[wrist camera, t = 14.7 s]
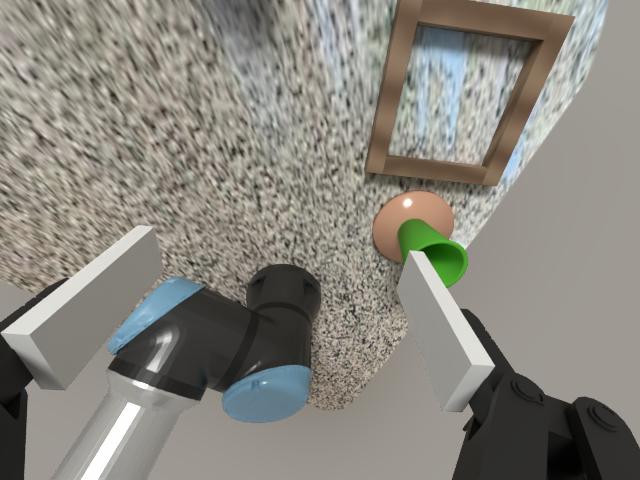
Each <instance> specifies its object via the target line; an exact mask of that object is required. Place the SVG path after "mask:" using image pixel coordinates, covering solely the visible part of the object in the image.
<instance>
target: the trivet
mask: <svg viewBox="0 0 640 480" xmlns="http://www.w3.org/2000/svg"><path fill="white" fill-rule="evenodd" d="M414 218H415V219H421V220H423V221H424V222H426V223H427V224H428V225H430V226H431V227H432V228H434V229H435V230H436V231H438V232H439V233H440V234H442V235H443V236H444V237H446V238H447V239H448V240H449V238H450V236H451V234H452V231H453V228H454V215H453V212H452V210H451V208H450V206H449V205H448V203H447V202H446V201H445V200H443V199H442V198H441V197H440V196H438V195H437V194H435V193H432V192H429V191H424V190H412V191H407V192H404V193H401V194H399V195H397V196H395V197H393V198H392V199H390V200H389V201H388V202H386V203H385V204H384V205H383V206H382V208H381V209H380V210H379V212H378V213H377V215H376V217H375V220H374V223H373V229H372V233H373V238H374V241H375V244H376V246H377V248H378V250H379V251H380V252H381V253H382V254H383V255H384V256H385V257H387V258H389V259H391V260H393V261H396V262H402V263H403V261H402V255H401V250H400V245H399V239H398V230H399V228H400V226H401V225H402V223H404V222H405V221H407V220H409V219H414Z"/></svg>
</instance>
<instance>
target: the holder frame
mask: <svg viewBox="0 0 640 480" xmlns="http://www.w3.org/2000/svg"><path fill="white" fill-rule="evenodd" d="M574 19H575V16H568V15H562V14H555V13H549V12H542V11H536V10H529V9H523V8H516V7H510V6H503V5H497V4H490V3H484V2H477V1H470V0H397V5H396V10H395V15H394V20H393V25H392V30H391V35H390V40H389V45H388V50H387V56H386V61H385V66H384V71H383V76H382V81H381V86H380V91H379V96H378V102H377V107H376V112H375V117H374V122H373V127H372V132H371V137H370V142H369V147H368V153H367V158H366V163H365V168H364V169H365V171H366V172H369V173H378V174H388V175H397V176H406V177H415V178H424V179H433V180H442V181H451V182H460V183H469V184H479V185H488V186H497V185H498V183H499V180H500V178H501V176H502V174H503V172H504V170H505V167H506V165H507V163H508V161H509V159H510V157H511V155H512V152H513V150H514V148H515V146H516V144H517V142H518V139H519V137H520V135H521V133H522V131H523V129H524V127H525V124H526V122H527V120H528V118H529V116H530V114H531V111H532V109H533V107H534V105H535V103H536V101H537V99H538V96H539V94H540V92H541V90H542V88H543V86H544V84H545V81H546V79H547V77H548V75H549V73H550V71H551V68H552V66H553V64H554V62H555V60H556V58H557V56H558V53H559V51H560V49H561V47H562V45H563V43H564V40H565V38H566V36H567V34H568V32H569V30H570V28H571V25H572V23H573V21H574ZM417 25H419V26H426V27H433V28H440V29H447V30H454V31H461V32H467V33H474V34H481V35H488V36H495V37H502V38H509V39H515V40H522V41H529V42H533V43H532V46H531V48H530V50H529V53H528V55H527V58H526V60H525V62H524V65H523V67H522V70H521V72H520V74H519V77H518V79H517V82H516V84H515V86H514V89H513V91H512V94H511V96H510V98H509V101H508V103H507V106H506V108H505V110H504V113H503V115H502V118H501V120H500V122H499V125H498V127H497V130H496V132H495V134H494V137H493V139H492V142H491V144H490V146H489V149H488V151H487V154H486V156H485V158H484V161H483V163H482V166H480V165H471V164H462V163H454V162H445V161H436V160H427V159H419V158H410V157H401V156H393V155H387V151H388V147H389V143H390V138H391V134H392V130H393V126H394V121H395V117H396V113H397V108H398V104H399V100H400V95H401V91H402V87H403V83H404V78H405V74H406V70H407V65H408V61H409V57H410V52H411V48H412V44H413V40H414V35H415V31H416V27H417Z"/></svg>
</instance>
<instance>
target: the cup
mask: <svg viewBox="0 0 640 480" xmlns="http://www.w3.org/2000/svg"><path fill="white" fill-rule="evenodd" d="M398 239H399V245H400V250H401V255H402V261H403V268H404V265H405V262H406V259H407V256H408V253H409V250H410V251H421V252H424V253H425V255H426V257H427V258H428V260H429V261H430V263H431V265H432V266H433V268H434V269H435V271H436V273H437V274H438V276H439V277H440V279H441V281H442V282H443V284H444V285H445V287H446V288H448V287H450V286H452V285H453V284H454V283H456V282H457V281H458V280H459V279H460V278H461V277H462V276H463V274H464V273H465V271H466V268H467V265H468V256H467V253H466V251H465V250H464V248H463V247H462V246H461V245H459V244H458V243H456V242H453V241H450V240H448V239H447V238H446V237H444V236H443V235H442V234H440V233H439V232H438V231H436V230H435V229H434V228H432V227H431V226H430V225H428V224H427V223H426V222H424V221H423V220H421V219H415V218H414V219H409V220H407V221H405V222H404V223H402V225H401V226H400V228H399V230H398Z"/></svg>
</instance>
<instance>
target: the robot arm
mask: <svg viewBox="0 0 640 480" xmlns="http://www.w3.org/2000/svg"><path fill="white" fill-rule="evenodd" d="M163 272H164V268H163V263H162V259H161V255H160V250H159V246H158V242H157V237H156V233H155V229H154V227H151V226H140V225H138V226H137V227H135V228H134V229H133V230H132V231H130V232H129V233H128V234H126V235H125V236H124V237H123V238H121V239H120V240H119V241H117V242H116V243H115V244H114V245H112V246H111V247H110V248H108V249H107V250H106V251H105V252H103V253H102V254H101V255H99V256H98V257H97V258H96V259H94V260H93V261H92V262H91V263H89V264H88V265H87V266H85V267H84V268H83V269H82V270H80V271H79V272H78V273H76V274H75V275H74V276H73V277H71V278H65V279H63V280H60V281H58V282H56V283H54V284H52V285H50V286H48V287H47V288H46V289H44V290H43V291H42V292H40V293H39V294H38V295H36V298H32V299H31V300H30V301H28V302H27V303H26V304H25V306H22V307H20V308H19V309H18V310H16V311H15V312H14V313H12V314H11V315H10V316H8V317H7V318H6V319H4V320H3V321H2V322H0V480H24V464H25V443H26V422H27V400H28V395H27V392H26V390H25V387H26V386H27V385H28V384H29V382H30V381H31V380H32V379H34V380H35V381H36V383H37V384H38V385H39V387H40V388H41V389H49V390H66V389H67V388H68V386H69V385H70V384H71V383H72V382H73V380H74V379H75V378H76V377H77V376H78V374H79V373H80V372H81V371H82V370H83V368H84V367H85V366H86V365H87V363H88V362H89V361H90V360H91V358H92V357H93V356H94V355H95V354H96V353H97V351H98V350H99V349H100V348H101V347H102V345H103V344H104V343H105V342H106V340H107V339H108V338H109V337H110V336H111V334H112V333H113V332H114V331H115V330H116V328H117V327H118V326H119V325H120V324H121V322H122V321H123V320H124V319H125V318H126V316H127V315H128V314H129V313H130V312H131V310H132V309H133V308H134V307H135V305H136V304H137V303H138V302H139V301H140V299H141V298H142V297H143V296H144V295H145V293H146V292H147V291H148V290H149V289H150V287H151V286H152V285H153V284H154V283H155V281H156V280H157V279H158V278H159V277H160V275H161V274H162V273H163ZM396 291H397V294H398V296H399V299H400V302H401V304H402V307H403V310H404V312H405V315H406V317H407V320H408V323H409V325H410V328H411V331H412V333H413V336H414V338H415V341H416V344H417V346H418V349H419V352H420V354H421V357H422V360H423V362H424V365H425V368H426V370H427V373H428V376H429V378H430V381H431V383H432V386H433V389H434V391H435V394H436V397H437V399H438V402H439V405H440V407H441V410H442V411H448V412H463V410H464V409H465V408H466V406H467V405H468V403H469V405H470V407H471V409H472V411H473V413H474V414H473V416H472V417H471V418H470V420H469V421H468V422H467V424H466V425H465V426H464V428H463V431H466V430H467V432H466V435H465V439H464V442H463V445H462V448H461V452H460V455H459V458H458V461H457V465H456V468H455V471H454V474H453V478H452V480H640V448H639V446H638V444H637V442H636V440H635V438H634V436H633V434H632V432H631V430H630V429H629V428H628V426H627V425H626V423H625V422H624V421H623V420H622V419H621V418H620V417H619V416H618V415H617V414H616V413H615V412H614V411H613V410H611V409H610V408H609V407H607V406H606V405H604V404H602V403H601V402H598V401H597V400H595V399H592V398H588V397H579V398H577V399H576V400H575V401H574V402H573V403H572V404H570V403H567V402H564V401H562V400H558V399H556V398H553V397H550V396H547V395H545V394H544V392H543V391H542V390H541V389H540V388H539V387H538V386H537V385H536V384H535V383H534V382H532V381H531V380H530V379H528V378H527V377H524V376H522V375H520V374H518V373H515V372H514V370H513V368H512V367H511V366H510V364H509V363H508V361H507V360H506V358H505V357H504V356H503V354H502V352H501V351H500V349H499V348H498V346H497V345H496V343H495V342H494V341H493V340H492V339H491V336H490V335H489V333H488V332H487V331H486V330H485V327H484V326H483V324H482V323H481V322H480V320H479V319H478V318H477V317H476V316H475V315H474V314H473V313H471V312H470V311H469V310H468V309H459V308H458V306H457V304H456V303H455V301H454V300H453V298H452V296H451V295H450V293H449V292H448V290H447V288H446V287H445V285H444V284H443V282H442V281H441V279H440V277H439V276H438V274H437V273H436V271H435V269H434V268H433V266H432V265H431V263H430V261H429V260H428V258H427V257H426V255H425V253H424V252H421V251H410V250H409V253H408V256H407V259H406V262H405V265H404V268H403V271H402V274H401V277H400V280H399V283H398V286H397V289H396ZM246 302H247V307H245V306H243V305H241V304H239V303H237V302H235V301H233V300H231V299H229V298H227V297H225V296H223V295H221V294H218V293H216V292H214V291H212V290H210V289H208V288H206V286H205V285H200V284H197V283H195V282H193V281H191V280H188V279H186V278H183V277H172V278H169V279H167V280H166V281H164V282H163V283H162V284H160V285H159V286H158V287H157V288H156V289H155V290H154V291H153V292H152V293H151V294H150V295H149V296H148V297H147V298H146V299H145V300H144V301H143V302H142V303H141V304H140V305H139V306H138V307H137V308H136V309H135V311H134V312H133V313H132V314H131V315H130V316H129V317H128V319H127V320H126V321H125V322H124V323H123V325H122V326H121V327H120V329H119V330H118V331H117V333H116V334H115V335H114V336H113V337H112V339H111V340H110V342H109V344H108V345H107V349H108V351H109V352H110V354H112V355H115V354H117V355H116V357H115V358H114V360H113V361H112V363H111V364H110V366H109V367H108V369H107V370H106V374H107V379H108V383H109V390H108V393H107V395H106V396H105V397H104V399H103V401H102V402H101V404H100V405H99V406H98V408H97V410H96V411H95V413H94V414H93V416H92V417H91V419H90V420H89V422H88V423H87V425H86V426H85V428H84V429H83V431H82V432H81V434H80V435H79V437H78V438H77V440H76V441H75V443H74V444H73V446H72V447H71V449H70V450H69V452H68V453H67V455H66V456H65V458H64V459H63V461H62V462H61V464H60V465H59V467H58V468H57V470H56V471H55V473H54V474H53V476H52V477H51V479H50V480H147V478H148V476H149V474H150V472H151V470H152V469H153V467H154V465H155V463H156V461H157V459H158V456H159V455H160V453H161V451H162V449H163V447H164V445H165V443H166V441H167V439H168V437H169V435H170V433H171V431H172V429H173V427H174V425H175V423H176V421H177V419H178V417H179V415H180V414H181V413H183V412H184V411H185V410H187V409H189V408H191V407H193V406H195V405H197V404H199V402H200V400H201V398H202V396H203V394H204V392H205V390H206V388H210V389H213V390H216V391H218V392H222V393H223V398H222V402H223V409H224V411H225V412H226V413H228V415H229V416H230V417H232V418H234V419H236V420H239V421H243V422H250V423H266V422H273V421H278V420H282V419H285V418H287V417H290V416H292V415H293V414H295V413H296V412H298V411H299V410H300V409H301V408H302V407H303V406H304V404H305V403H306V401H307V399H308V396H309V388H310V379H311V376H312V373H311V328H312V323H313V321H314V319H315V317H316V314H317V312H318V310H319V307H320V303H321V289H320V286H319V283H318V282H317V280H316V279H315V277H314V276H313V275H312V274H310V273H309V272H308V271H306V270H304V269H302V268H300V267H297V266H294V265H289V264H276V265H271V266H268V267H265V268H263V269H261V270H260V271H258V272H257V273H256V274H255V275H254V276H253V277H252V279H251V281H250V283H249V286H248V289H247V293H246Z"/></svg>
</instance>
